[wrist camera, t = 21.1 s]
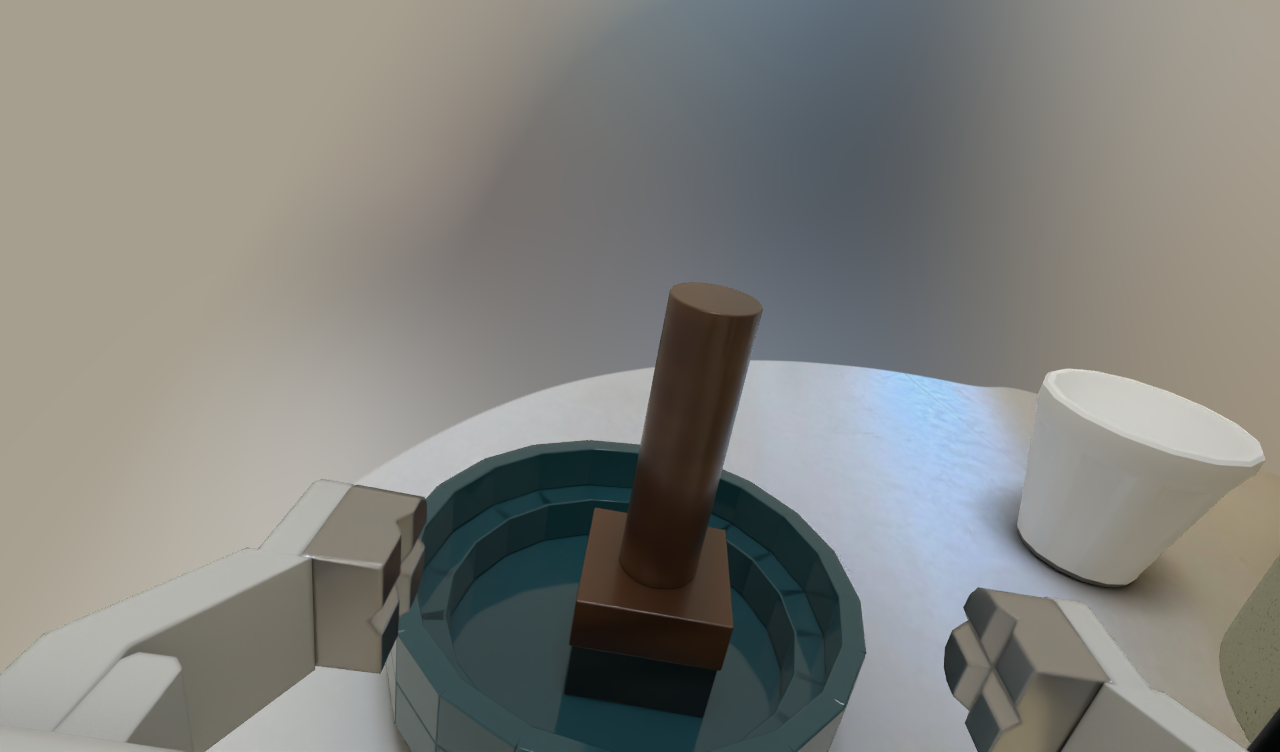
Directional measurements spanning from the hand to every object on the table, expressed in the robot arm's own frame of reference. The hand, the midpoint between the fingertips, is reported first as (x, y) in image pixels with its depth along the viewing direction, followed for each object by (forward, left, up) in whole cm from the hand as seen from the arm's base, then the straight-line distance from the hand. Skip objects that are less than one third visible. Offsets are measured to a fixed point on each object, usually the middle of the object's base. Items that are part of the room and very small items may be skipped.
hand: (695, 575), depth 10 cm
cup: (+21, +29, -15) cm, 39 cm away
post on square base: (-1, +12, -14) cm, 18 cm away
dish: (-2, +12, -15) cm, 19 cm away
